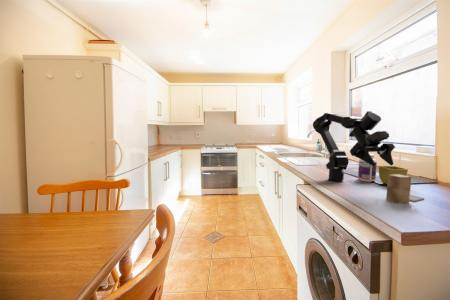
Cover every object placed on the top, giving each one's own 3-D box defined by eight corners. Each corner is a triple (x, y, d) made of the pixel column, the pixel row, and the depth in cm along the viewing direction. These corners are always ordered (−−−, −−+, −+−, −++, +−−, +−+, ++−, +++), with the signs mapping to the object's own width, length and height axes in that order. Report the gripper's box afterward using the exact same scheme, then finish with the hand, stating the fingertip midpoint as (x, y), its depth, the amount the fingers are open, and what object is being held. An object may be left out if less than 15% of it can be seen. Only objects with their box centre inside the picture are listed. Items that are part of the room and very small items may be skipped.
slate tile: (390, 196, 93) (390, 194, 93) (401, 193, 96) (401, 192, 96) (413, 201, 86) (413, 200, 86) (424, 199, 89) (424, 197, 89)
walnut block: (386, 199, 89) (388, 174, 88) (396, 198, 90) (398, 174, 89) (398, 203, 84) (400, 177, 83) (409, 202, 85) (411, 176, 84)
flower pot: (407, 187, 107) (408, 169, 106) (388, 187, 107) (390, 168, 107) (393, 183, 116) (395, 166, 115) (376, 182, 116) (378, 165, 115)
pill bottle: (370, 179, 125) (372, 153, 123) (378, 182, 117) (380, 155, 115) (354, 178, 125) (356, 153, 124) (362, 182, 117) (364, 155, 116)
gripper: (356, 124, 94) (377, 153, 84) (392, 125, 98) (416, 152, 88) (342, 141, 102) (359, 169, 93) (375, 141, 106) (396, 168, 97)
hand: (383, 165), depth 92 cm, fingers open, 9 cm apart
